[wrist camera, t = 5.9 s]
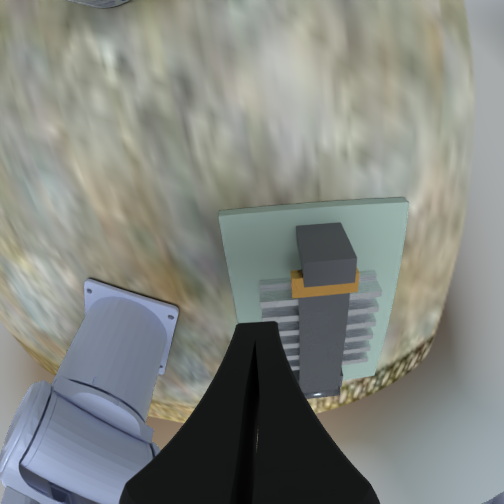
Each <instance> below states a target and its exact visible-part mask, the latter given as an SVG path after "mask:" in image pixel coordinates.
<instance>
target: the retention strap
mask: <svg viewBox="0 0 504 504" xmlns="http://www.w3.org/2000/svg"><path fill="white" fill-rule="evenodd" d="M290 275H291V292H292V298H298V318H299V386H300V388H301V390H302V392H303V394H304V396H305V398H306V399H310V398H320V397H328V396H337V395H340V385H339V380H340V373H341V366H342V359H343V352H344V344H345V336H346V328H347V319H348V310H349V299H350V293H354V292H358V285H359V275H360V273H359V270H358V268H357V267H356V278H355V283H347V284H337V285H327V286H316V287H305V288H304V283H303V273H302V269H301V270H290Z"/></svg>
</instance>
